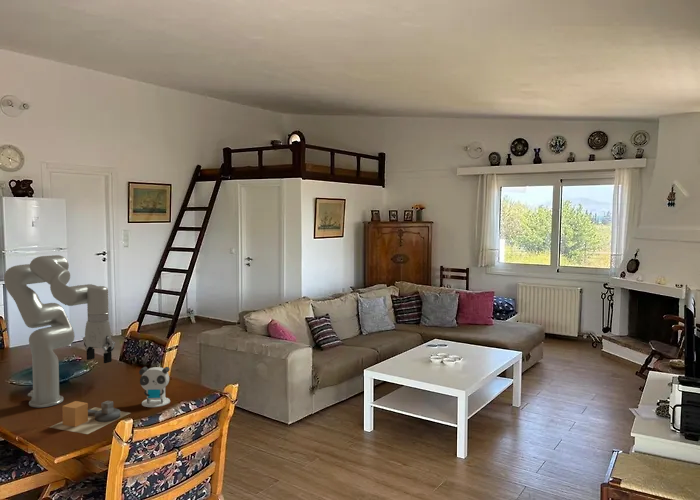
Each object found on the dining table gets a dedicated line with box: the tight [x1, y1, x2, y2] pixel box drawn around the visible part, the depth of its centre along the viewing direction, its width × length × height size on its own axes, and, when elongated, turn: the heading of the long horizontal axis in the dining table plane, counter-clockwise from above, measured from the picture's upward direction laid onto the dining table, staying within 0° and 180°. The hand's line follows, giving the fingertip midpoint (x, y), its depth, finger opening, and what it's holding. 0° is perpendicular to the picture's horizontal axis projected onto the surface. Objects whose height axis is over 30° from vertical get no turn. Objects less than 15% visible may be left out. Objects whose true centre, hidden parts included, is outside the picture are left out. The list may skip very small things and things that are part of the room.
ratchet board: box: [49, 400, 131, 435], centre depth 203 cm, size 18×22×8 cm
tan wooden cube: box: [62, 400, 89, 427], centre depth 200 cm, size 6×6×7 cm
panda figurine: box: [138, 366, 171, 408], centre depth 225 cm, size 12×11×15 cm
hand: (99, 360), depth 209 cm, fingers open, 9 cm apart
